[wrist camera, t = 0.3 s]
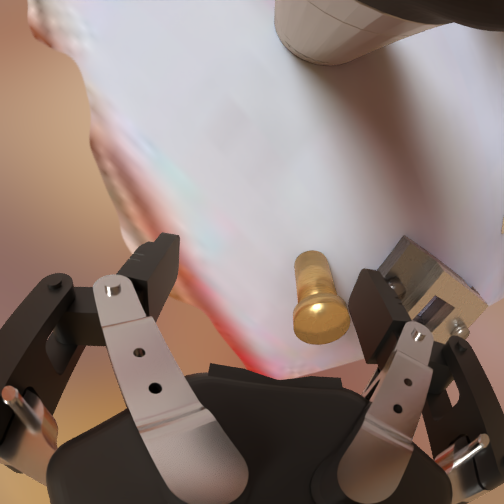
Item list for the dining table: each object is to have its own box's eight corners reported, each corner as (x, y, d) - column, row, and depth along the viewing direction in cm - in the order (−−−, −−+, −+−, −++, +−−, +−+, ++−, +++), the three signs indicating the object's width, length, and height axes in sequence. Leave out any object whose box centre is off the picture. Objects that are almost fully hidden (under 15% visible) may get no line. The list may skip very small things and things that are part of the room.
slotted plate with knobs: (404, 234, 29) (423, 259, 25) (476, 290, 33) (492, 312, 28) (348, 305, 35) (356, 334, 31) (430, 340, 39) (441, 364, 34)
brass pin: (303, 238, 31) (314, 296, 22) (340, 257, 32) (361, 316, 23) (281, 272, 33) (283, 334, 25) (317, 288, 34) (328, 350, 26)
